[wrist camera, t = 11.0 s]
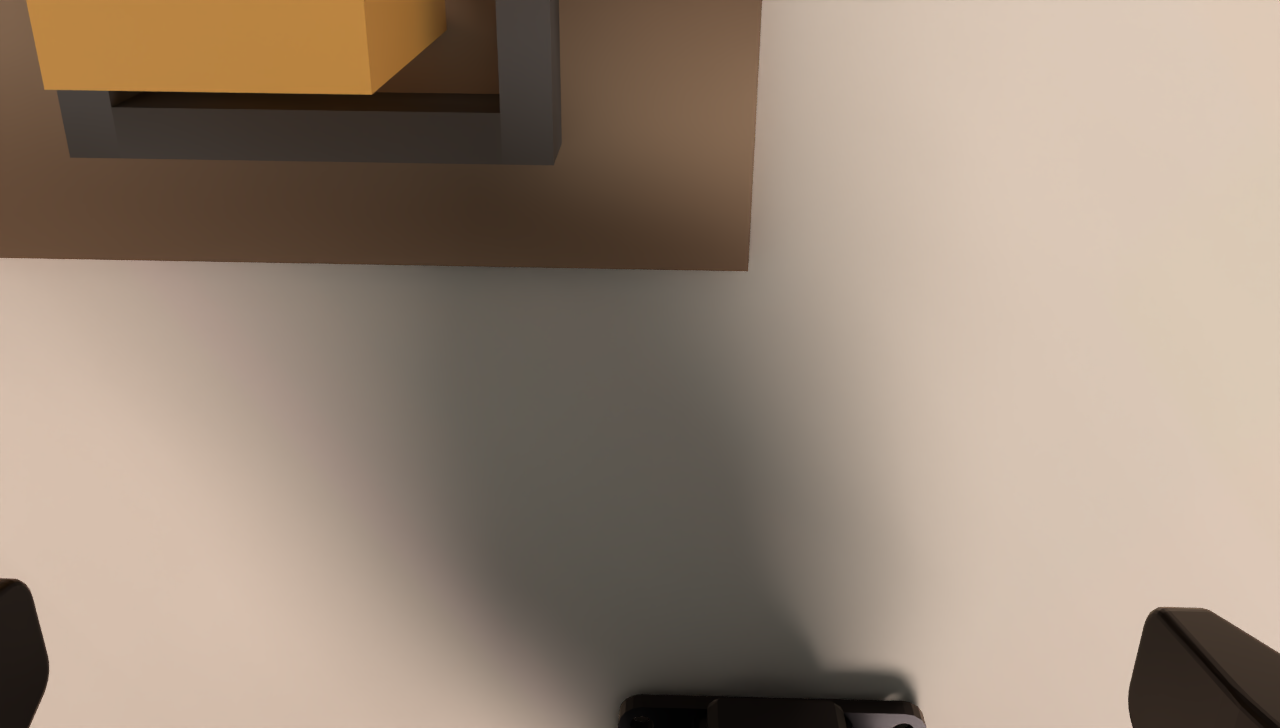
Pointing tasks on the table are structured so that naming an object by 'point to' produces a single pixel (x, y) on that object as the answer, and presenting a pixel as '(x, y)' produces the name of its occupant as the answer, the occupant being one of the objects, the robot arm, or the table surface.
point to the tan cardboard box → (230, 44)
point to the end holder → (413, 150)
